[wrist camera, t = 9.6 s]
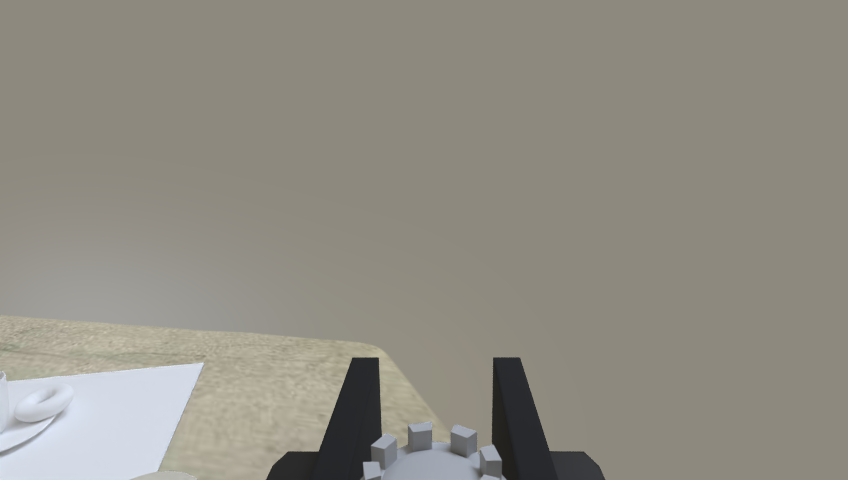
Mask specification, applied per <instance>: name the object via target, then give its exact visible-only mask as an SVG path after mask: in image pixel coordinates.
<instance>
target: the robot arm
mask: <svg viewBox="0 0 848 480" xmlns="http://www.w3.org/2000/svg"><path fill="white" fill-rule="evenodd" d="M381 437H382V430H381V405H380V379H379V358H352V361H351V363H350V366H349V369H348V372H347V374H346V377H345V380H344V383H343V386H342V388H341V391H340V394H339V397H338V400H337V402H336V405H335V408H334V411H333V413H332V416H331V419H330V422H329V425H328V427H327V430H326V433H325V436H324V438H323V441H322V444H321V447H320V450H319V452H287V453H286V454H285V455H284V456H283V457H282V458H281V459H280V460H278V461H277V462H276V463H275V464H274V465H273V466H272V468H271V471H270V473H269V475H268V477H267V479H266V480H360V479H361V478H362V477H363V476H364V474H363V462H372V459H371V445H372V444H373V443H375V442H376V441H377V440H378V439H380V438H381ZM492 444H493V445H494V446H495V448H496V450H497V452H498V454H499V456H500V458H501V460H502V475H503V476H504V477H505V479H506V480H605V478H604V476H603V474H602V471H601V469H600V467H599V466H598V465H597V464H596V463H595V462H594V461H593V460H592V459H591V458H590V457H589V456H588V455H587V454H586V453H584V452H557V451H555V452H554V451H549V448H548V445H547V442H546V438H545V435H544V432H543V429H542V426H541V423H540V419H539V416H538V413H537V410H536V407H535V404H534V401H533V397H532V394H531V391H530V388H529V385H528V382H527V378H526V375H525V372H524V369H523V366H522V363H521V359H520V358H493V408H492Z"/></svg>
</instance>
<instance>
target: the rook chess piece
mask: <svg viewBox="0 0 848 480" xmlns="http://www.w3.org/2000/svg"><path fill="white" fill-rule="evenodd" d="M371 459H372V462H363V474H364V476H363V477H362V478H361V479H360V480H506V479H505V477H504V476H503V475H502V460H501V458H500V456H499V454H498V452H497V450H496V448H495V446H494V445H493V444H492V445H489V446H485V447H482V448H480V454H479V453H477V432H476V431H474V430H471V429H468V428H465V427H462V426H460V425H457V424H455V426H454V427H453V429H452V430H451V443H443V442H434V441H432V422H424V423H416V424H408V445H406V446H403V447H401V448H398V449H397V439H396V438H394V437H393V436H391V435H390V434H388V433H386V434H385V435H383V436H382V437H381V438H380V439H378V440H377V441H376V442H375V443H373V444H372V445H371Z"/></svg>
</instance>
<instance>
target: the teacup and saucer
mask: <svg viewBox="0 0 848 480" xmlns="http://www.w3.org/2000/svg"><path fill="white" fill-rule="evenodd" d="M74 397H75V390H74V388H73V387H72V386H71V385H70V384H68V383H63V382H59V383H53V384H48V385H45V386H42V387H40V388H37V389H35V390H33V391H31V392H30V393H28V394H26V395H25V396H21V397H12V398H10V397H9V389H8V381H6V376H5V373H4V372H2V371H0V434H1V435H0V453H2V452H4V451H7V450H9V449H11V448H14V447H16V446H18V445H20V444H22V443H24V442H26V441H28V440H29V439H31V438H33V437H34V436H36V435H37V434H39V433H40V432H42V431H43V430H44V429H45V428H47V427H48V426H49V425H50V424H51V423H52V422H53V420H54V419H55V418H56V416H57V414H59V413H60V412H62V411H63V410H65V409H66V408H67V407H68V406H69V405H70V404H71V403H72V401H73V400H74Z"/></svg>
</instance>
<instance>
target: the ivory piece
mask: <svg viewBox="0 0 848 480" xmlns="http://www.w3.org/2000/svg"><path fill="white" fill-rule="evenodd" d="M130 480H197V479H196V478H195V477H194V476H192V475H190V474H187V473H184V472H179V471H160V472H153V473H149V474H145V475H141V476H138V477H135V478H133V479H130Z"/></svg>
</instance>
